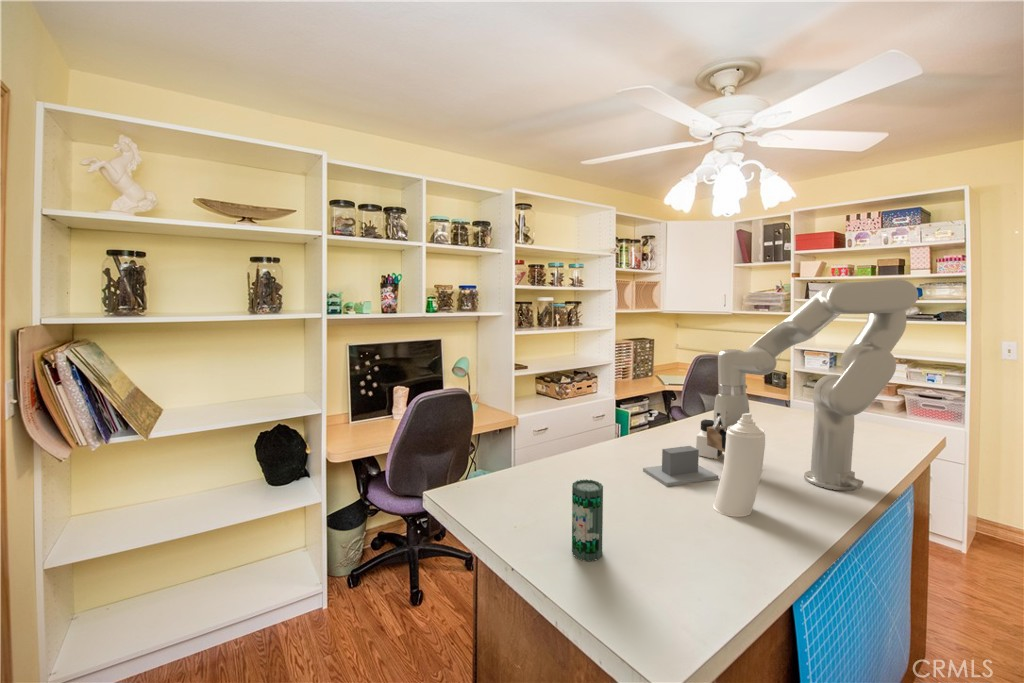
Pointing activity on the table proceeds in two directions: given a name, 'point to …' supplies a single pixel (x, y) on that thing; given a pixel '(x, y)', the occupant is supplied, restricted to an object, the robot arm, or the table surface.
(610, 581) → the table surface
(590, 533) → the can
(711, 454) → the medicine bottle
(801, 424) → the table surface
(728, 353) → the robot arm
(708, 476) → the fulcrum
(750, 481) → the spray can
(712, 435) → the walnut bar
